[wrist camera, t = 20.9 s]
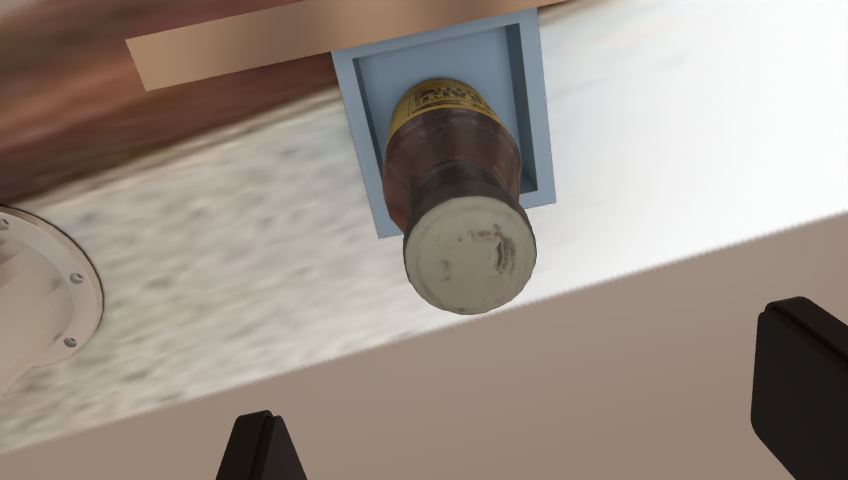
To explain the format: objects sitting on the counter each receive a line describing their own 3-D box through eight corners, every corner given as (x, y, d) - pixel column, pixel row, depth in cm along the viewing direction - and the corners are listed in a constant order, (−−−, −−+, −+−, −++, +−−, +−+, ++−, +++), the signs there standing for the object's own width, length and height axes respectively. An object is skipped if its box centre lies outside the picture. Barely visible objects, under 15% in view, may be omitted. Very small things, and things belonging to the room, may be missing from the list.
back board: (227, 60, 33) (146, 91, 22) (216, 25, 32) (125, 39, 21) (616, -24, 32) (734, -36, 21) (614, -62, 31) (736, -94, 20)
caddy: (380, 209, 37) (378, 239, 33) (337, 36, 32) (328, 43, 28) (535, 177, 37) (556, 202, 32) (515, -2, 32) (535, -2, 28)
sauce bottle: (504, 100, 34) (637, 217, 16) (459, 186, 36) (529, 377, 18) (410, 53, 32) (435, 122, 14) (369, 145, 34) (345, 309, 16)
